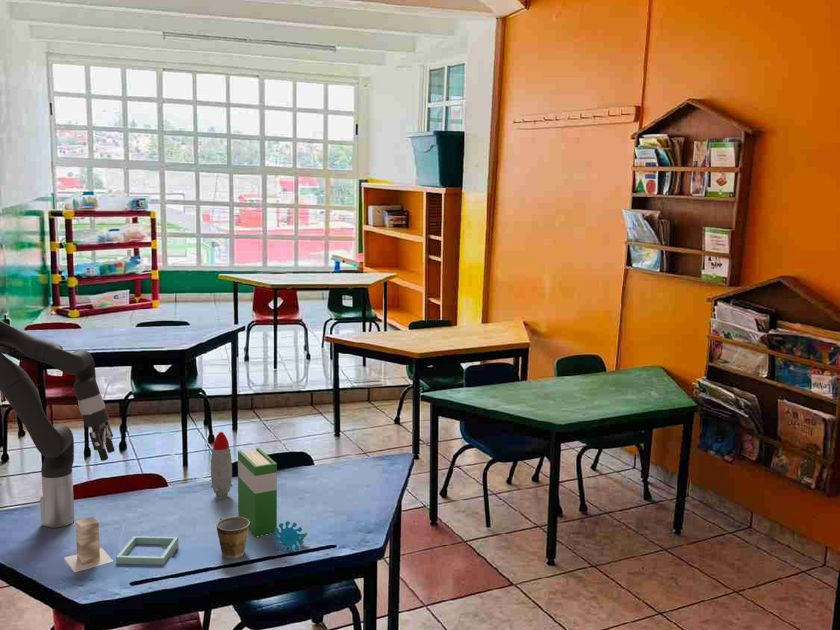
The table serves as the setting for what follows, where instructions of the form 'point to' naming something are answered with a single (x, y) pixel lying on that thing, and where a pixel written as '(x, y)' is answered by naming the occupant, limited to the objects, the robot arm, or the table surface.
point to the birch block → (87, 540)
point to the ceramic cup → (233, 536)
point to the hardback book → (257, 491)
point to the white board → (78, 566)
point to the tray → (165, 543)
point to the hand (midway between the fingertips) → (108, 456)
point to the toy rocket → (221, 466)
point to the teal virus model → (289, 536)
